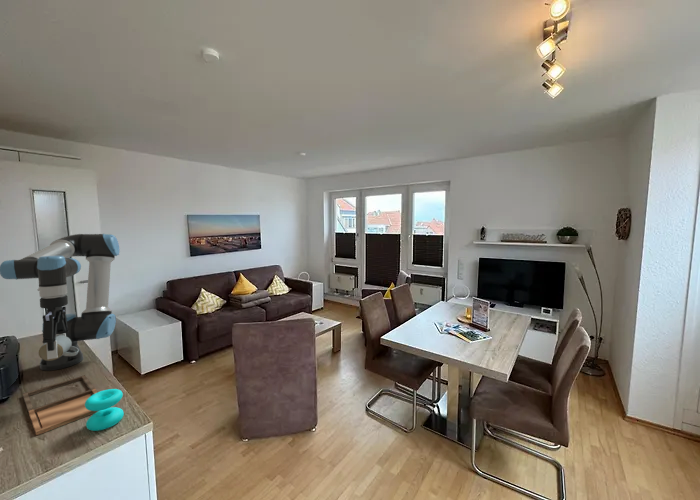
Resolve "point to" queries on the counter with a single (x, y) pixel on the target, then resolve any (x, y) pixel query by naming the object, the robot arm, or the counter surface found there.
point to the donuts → (104, 409)
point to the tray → (59, 407)
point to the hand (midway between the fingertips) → (57, 353)
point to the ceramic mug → (59, 348)
